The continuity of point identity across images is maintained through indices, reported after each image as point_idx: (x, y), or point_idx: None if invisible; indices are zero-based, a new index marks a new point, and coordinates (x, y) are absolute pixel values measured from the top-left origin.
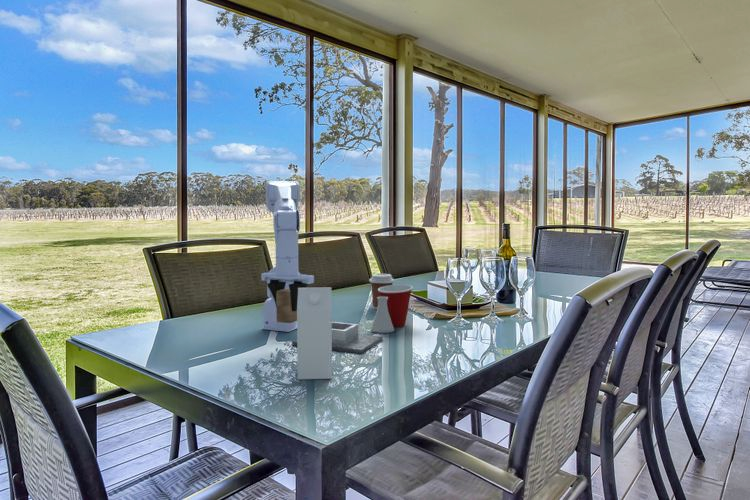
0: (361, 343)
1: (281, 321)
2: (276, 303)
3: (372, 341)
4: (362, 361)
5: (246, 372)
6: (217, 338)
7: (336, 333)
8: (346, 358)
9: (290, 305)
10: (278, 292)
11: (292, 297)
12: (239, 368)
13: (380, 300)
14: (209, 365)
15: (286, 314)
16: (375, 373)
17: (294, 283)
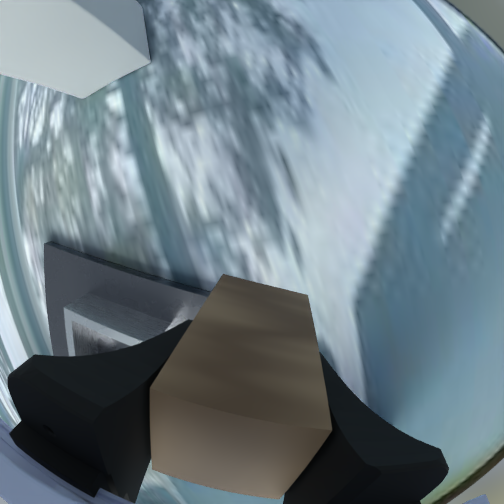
0: (61, 303)
1: (276, 288)
2: (324, 367)
3: (51, 322)
4: (39, 180)
5: (292, 12)
6: (487, 327)
7: (94, 313)
8: (67, 193)
9: (193, 324)
10: (304, 415)
11: (151, 356)
12: (329, 36)
13: None
14: (422, 62)
15: (237, 297)
16: (20, 114)
17: (89, 467)
